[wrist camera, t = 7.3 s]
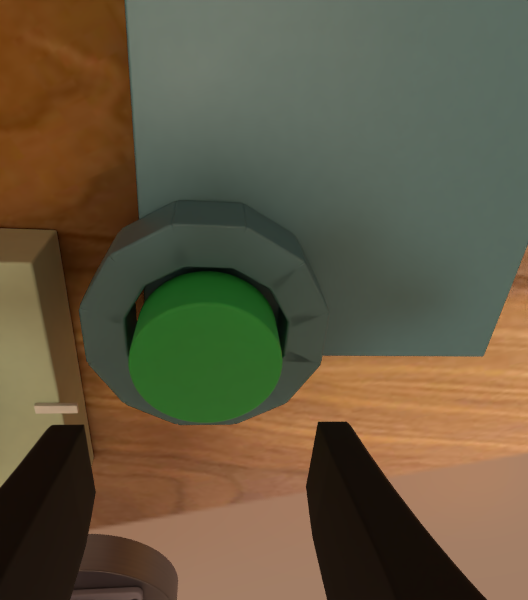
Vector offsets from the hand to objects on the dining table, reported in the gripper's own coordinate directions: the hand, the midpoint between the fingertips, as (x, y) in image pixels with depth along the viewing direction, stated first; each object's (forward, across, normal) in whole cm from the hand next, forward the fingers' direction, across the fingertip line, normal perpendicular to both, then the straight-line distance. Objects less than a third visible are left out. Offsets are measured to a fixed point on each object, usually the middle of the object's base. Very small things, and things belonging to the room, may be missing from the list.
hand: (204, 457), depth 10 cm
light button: (+5, 0, 0) cm, 5 cm away
